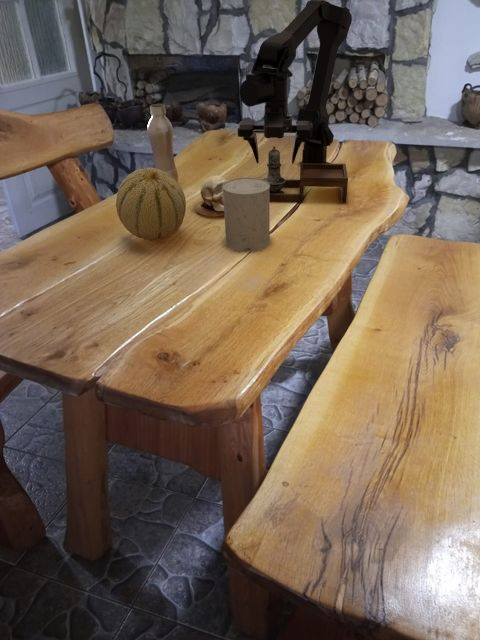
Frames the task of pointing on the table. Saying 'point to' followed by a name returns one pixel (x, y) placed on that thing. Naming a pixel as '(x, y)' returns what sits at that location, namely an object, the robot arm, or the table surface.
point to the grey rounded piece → (274, 172)
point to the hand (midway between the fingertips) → (275, 163)
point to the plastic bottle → (162, 140)
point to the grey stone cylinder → (247, 214)
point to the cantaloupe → (150, 204)
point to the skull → (212, 197)
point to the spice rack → (314, 181)
